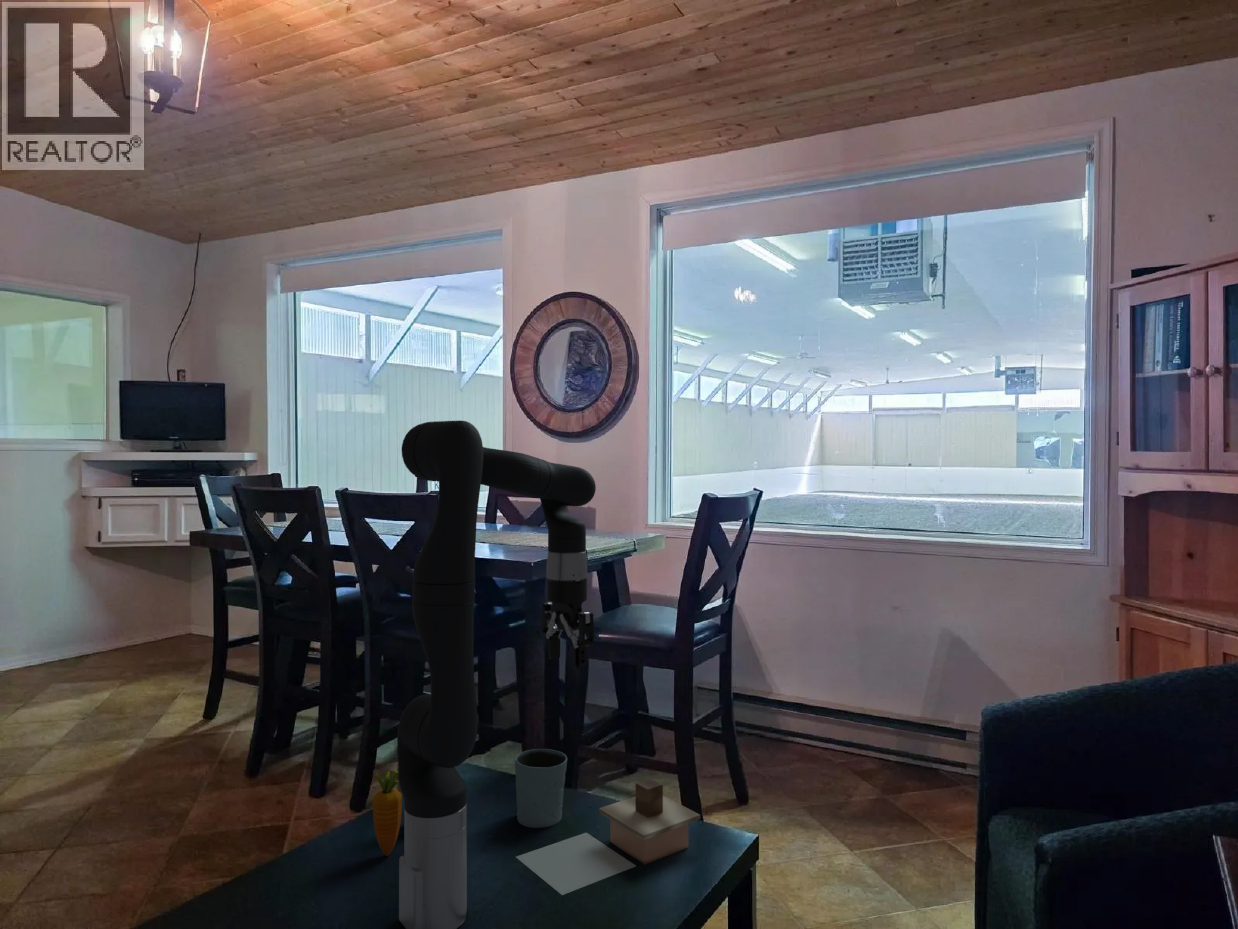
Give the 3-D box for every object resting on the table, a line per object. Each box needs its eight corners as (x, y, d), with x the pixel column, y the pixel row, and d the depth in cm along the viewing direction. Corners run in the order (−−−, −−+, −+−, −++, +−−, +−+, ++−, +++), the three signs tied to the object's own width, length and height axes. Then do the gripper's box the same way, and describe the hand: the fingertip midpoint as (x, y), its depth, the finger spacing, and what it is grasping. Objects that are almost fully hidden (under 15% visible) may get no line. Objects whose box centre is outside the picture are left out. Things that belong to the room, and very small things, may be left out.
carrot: (366, 858, 134) (366, 772, 134) (387, 846, 138) (387, 763, 138) (387, 865, 131) (387, 778, 132) (407, 853, 136) (408, 768, 136)
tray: (562, 897, 122) (562, 895, 122) (515, 859, 134) (515, 857, 134) (636, 868, 131) (636, 866, 131) (586, 834, 143) (586, 832, 143)
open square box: (644, 866, 131) (645, 834, 131) (610, 844, 139) (610, 813, 139) (688, 849, 137) (688, 818, 137) (652, 828, 145) (652, 799, 145)
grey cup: (508, 813, 152) (508, 752, 152) (556, 804, 156) (556, 745, 156) (524, 836, 142) (524, 771, 142) (574, 825, 147) (574, 762, 147)
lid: (643, 840, 129) (643, 806, 129) (598, 812, 140) (598, 780, 140) (700, 819, 137) (700, 787, 137) (653, 794, 147) (653, 764, 147)
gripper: (529, 573, 146) (529, 658, 146) (571, 582, 134) (570, 674, 134) (563, 570, 150) (562, 653, 150) (605, 578, 139) (605, 668, 139)
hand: (566, 663), depth 142 cm, fingers open, 8 cm apart
